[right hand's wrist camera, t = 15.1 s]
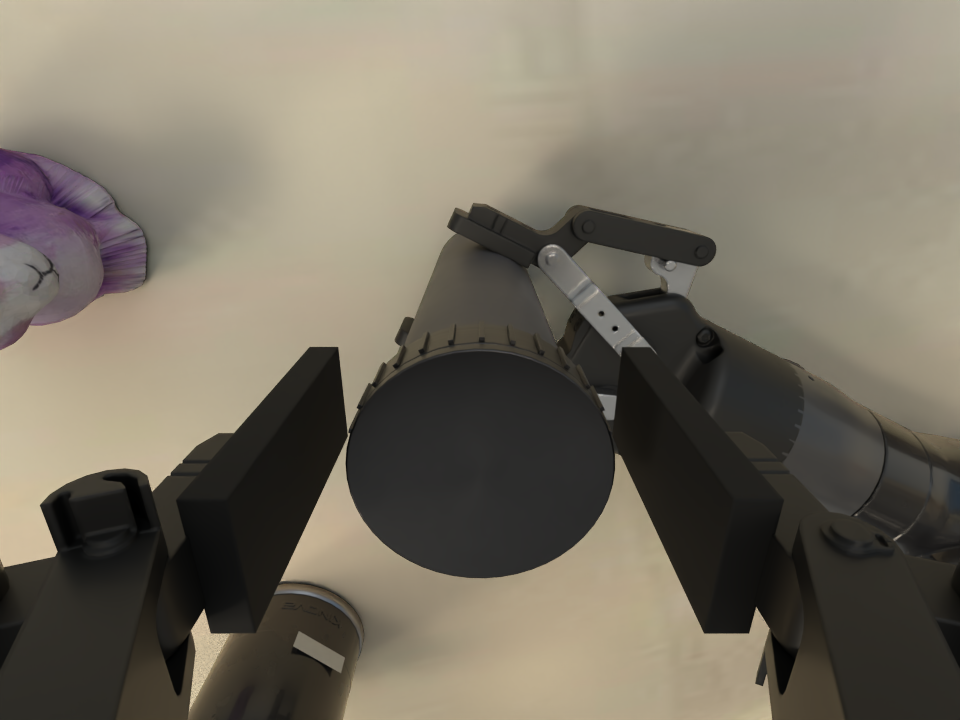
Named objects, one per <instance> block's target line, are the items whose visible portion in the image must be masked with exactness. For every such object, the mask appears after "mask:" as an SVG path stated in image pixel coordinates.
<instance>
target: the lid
mask: <svg viewBox="0 0 960 720" xmlns="http://www.w3.org/2000/svg"><path fill="white" fill-rule="evenodd" d="M357 408H358V411H357V413H356V416H355V418H354V420H353V422H352V424H351V426H350V428H349V433H350V436H349V441H348V445H347V452H346V474H347V481H348V485H349V489H350V493H351V496H352V499H353V501H354V504H355V506H356V508H357V510H358V512H359V513H360V515H361V517H362V519H363V520H364V522H365V523H366V524H367V526H368V527H369V528H370V529H371V531H372V532H373V533H374V534H375V535H376V536H377V537H378V538H379V539H380V540H381V541H382V542H383V543H384V544H385V545H387V546H388V547H389V548H390V549H392V550H393V551H394V552H395V553H397V554H399V555H400V556H402V557H404V558H405V559H407V560H409V561H411V562H413V563H415V564H417V565H419V566H421V567H424V568H427V569H430V570H432V571H435V572H439V573H443V574H447V575H452V576H458V577H467V578H493V577H503V576H508V575H514V574H518V573H522V572H525V571H528V570H532V569H534V568H537V567H539V566H542V565H544V564H546V563H548V562H550V561H552V560H554V559H555V558H557V557H559V556H561V555H562V554H564V553H565V552H566V551H568V550H569V549H571V548H572V547H573V546H574V545H575V544H577V543H578V542H579V541H580V540H581V539H582V538H583V537H584V536H585V535H586V534H587V533H588V531H589V530H590V529H591V528H592V527H593V526H594V524H595V523H596V521H597V520H598V518H599V517H600V515H601V513H602V512H603V509H604V507H605V505H606V503H607V501H608V498H609V495H610V492H611V488H612V485H613V479H614V472H615V453H614V447H613V441H612V437H611V435H613V433H612V430H611V428H610V426H609V424H608V421H607V419H606V417H605V415H604V413H603V411H605V409H604V407H603V405H602V403H601V401H600V399H599V396H598V394H597V392H596V390H595V388H594V386H593V385H592V386H590V384H589V382H588V380H587V378H586V376H585V374H584V372H583V369H582V367H581V366H580V365H579V364H578V365H577V366H575V365H574V364H573V362H572V361H571V360H570V359H569V358H568V357H567V356H566V355H565V353H564V350H563V348H561V347H560V346H559V347H558V348H556V347H554V346H553V345H551V344H549V343H548V342H546V341H544V340H543V339H541V337H540V334H538V333H536V332H535V334H534V335H532V334H530V333H527V332H525V331H522V330H518V329H514V328H513V325H512V324H508V326H507V327H506V326H499V325H493V324H484V321H479V324H470V325H460V326H456V324H455V323H454V324H451V325H450V328H446V329H442V330H439V331H436V332H434V333H431V334H429V332H428V331H427V332H425V333H423V336H422V338H420V339H418V340H416V341H414V342H413V343H411V344H410V345H408V346H407V347H405V346H404V345H402V346H401V347H400V348H399V351H398V353H397V354H396V355H395V356H394V357H393V358H392V359H391V360H390V361H389V362H388V363H387V364H385V363H384V362H383V363H382V364H381V366H380V368H379V370H378V372H377V374H376V377H375V379H374V381H373V383H372V384H370V383H369V384H368V386H367V388H366V390H365V392H364V394H363V396H362V398H361V400H360V402H359V404H358V406H357Z"/></svg>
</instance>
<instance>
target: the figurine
mask: <svg viewBox="0 0 960 720" xmlns="http://www.w3.org/2000/svg"><path fill="white" fill-rule="evenodd" d="M145 240H146V239H145V237H144V236H143V231H142V230H141V229H140V227H139V226H138V225H137V224H136V223H135V222H133V221H131V220H130V219H129V218H128V217H127V216H125V215H123V214H121V213H120V212H119V211H118V209H117V207H116V206H115V201H114V200H113V198H112V197H111V195H110V194H109V193H108V192H107V191H106V190H105V189H104V188H103V187H102V186H100V185H98V184H97V183H96V182H94V181H93V180H91V179H89V178H87V177H85V176H82V175H81V174H80V173H79V172H75V171H74V170H72V169H70V168H68V167H66V166H64V165H62V164H60V163H56V162H54V161H52V160H50V159H47V158H45V157H42V156H39V155H36V154H28V153H23V152H17V151H11V150H6V149H2V148H0V350H2V349H4V348H6V347H8V346H10V345H12V344H14V343H15V342H16V341H17V340H18V339H19V338H20V337H21V336H23V334H24V333H25V332H26V330H27V328H28V327H29V325H36V326H37V325H47V324H51V323H56V322H60V321H63V320H65V319H67V318H70V317H72V316H74V315H76V314H77V313H78V312H80V311H81V310H83V309H84V308H85V307H86V306H87V305H88V304H90V303H91V302H93V301H94V300H95V299H97V298H100V297H102V296H104V294H107V293H120V292H127V291H131V290H134V289H136V288H138V287H140V286H141V285H142V284H143V280H144V279H146V278H145V275H146V273H145V271H146V268H145V266H146V263H145V262H146V261H147V260H146V257H147V255H146V252H147V250H146V248H147V246H146V243H145Z"/></svg>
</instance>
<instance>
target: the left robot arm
mask: <svg viewBox="0 0 960 720" xmlns="http://www.w3.org/2000/svg"><path fill="white" fill-rule="evenodd" d="M447 227H448V228H449V229H451V230H452V231H454V232H456V233H458V234H460V235H462V236H464V237H466V238H468V239H470V240H472V241H474V242H476V243H478V244H480V245H482V246H484V247H486V248H488V249H490V250H492V251H494V252H496V253H498V254H500V255H502V256H504V257H506V258H509V259H510V260H512V261H514V262H516V263H518V264H520V265H522V266H524V267H526V268H528V267H529V265H530V264H533V265H535V266H537V267H539V268H540V269H541V270H542V271H543V272H544V273H545V274H546V275H547V276H548V278H549V279H550V280H551V281H552V282H553V283H554V284H555V285H556V286H557V287H558V288H559V289H560V290H561V292H562V293H563V294H564V295H565V296H566V297H567V298H568V299H569V300H570V302H571V303H572V304H573V305H574V306H575V309H574V311H573V313H572V314H571V316H570V318H569V320H568V322H567V326H566V330H565V333H564V336H563V338H562V339H561V340H560V341H559V342H558V343H557V344H556V345H557V347H559V346H560V347H561V348H563V350H564V353H565V355H566V356H567V357H568V358H569V359H570V360H571V361H572V362H573V364H574V365H575V366H577V365H578V364H579V365H580V366H581V367H582V369H583V372H584V374H585V376H586V378H587V380H588V382H589V384H590V386H592V385H593V386H594V388H595V390H596V392H597V394H598V396H599V399H600V401H601V403H602V405H603V407H604V409H605V411H603V413H604V415H605V417H606V419H607V421H608V424H609V426H610V428H611V430H612V433H613V424H614V415H615V406H616V397H617V387H618V378H619V369H620V360H621V351H622V347H651V348H652V350H653V351H654V352H655V353H656V354H657V355H658V356H659V358H660V359H661V360H662V361H663V362H664V363H665V364H666V366H667V367H668V368H669V369H670V370H671V371H672V372H673V374H674V375H675V376H676V377H677V378H678V379H679V380H680V382H681V383H682V384H683V385H684V386H685V387H686V388H687V390H688V391H689V392H690V393H691V394H692V395H693V396H694V398H695V399H696V400H697V401H698V402H699V403H700V404H701V406H702V407H703V408H704V409H705V410H706V411H707V412H708V413H709V415H710V416H711V417H712V418H713V419H714V420H715V421H716V423H717V424H718V425H719V426H720V427H721V428H722V429H723V431H724V432H743V433H745V434H747V435H748V436H750V437H752V438H754V439H755V440H757V441H759V442H761V443H762V444H764V445H765V446H766V447H767V448H768V449H769V450H770V451H771V452H772V453H773V454H774V455H775V456H776V457H777V459H778V462H781V463H782V464H783V465H784V466H785V467H786V468H787V469H788V470H789V471H790V474H793V475H794V476H795V477H796V478H797V479H798V480H799V481H800V482H801V483H802V484H803V485H804V486H805V487H806V488H807V489H808V490H809V491H810V492H811V493H812V494H813V495H814V497H815V498H816V499H817V500H818V501H819V502H820V503H821V504H822V505H823V506H824V507H825V508H826V509H827V510H828V511H829V512H835V513H841V514H845V515H848V516H851V517H855V518H858V519H860V520H863V521H865V522H867V523H869V524H871V525H873V526H875V527H877V528H879V529H880V530H881V531H883V532H884V533H885V534H887V535H888V536H889V537H891V538H892V539H893V540H894V541H895V542H896V543H897V545H898V546H899V547H900V549H901V550H902V551H903V553H904V554H906V555H910V556H915V557H920V558H924V559H929V560H934V561H939V562H944V563H949V564H954V565H958V562H959V560H960V440H959V439H953V438H948V437H943V436H938V435H932V434H926V433H918V432H913V431H911V430H909V429H907V428H905V427H903V426H901V425H899V424H897V423H895V422H893V421H892V420H890V419H888V418H886V417H884V416H882V415H880V414H878V413H876V412H874V411H872V410H870V409H868V408H866V407H864V406H862V405H860V404H858V403H857V402H855V401H853V400H852V399H850V398H849V397H848V396H846V395H845V394H844V393H842V392H841V391H840V390H838V389H837V388H835V387H834V386H832V385H831V384H830V383H828V382H826V381H824V380H823V379H821V378H819V377H817V376H815V375H813V374H811V373H809V372H807V371H805V369H804V368H802V367H801V366H800V365H799V364H797V363H795V362H792V361H790V360H787V359H782V358H780V357H778V356H776V355H774V354H772V353H770V352H768V351H766V350H764V349H762V348H760V347H758V346H756V345H755V344H753V343H751V342H749V341H747V340H745V339H743V338H741V337H739V336H737V335H735V334H733V333H731V332H729V331H727V330H725V329H723V328H721V327H719V326H717V325H716V324H714V323H712V322H710V321H708V320H706V319H704V318H702V317H700V316H699V315H698V313H697V312H696V310H695V308H694V306H693V305H692V303H691V302H690V301H689V300H688V299H687V296H688V293H689V290H690V288H691V285H692V282H693V280H694V277H695V274H696V272H697V269H698V266H704V265H706V264H708V263H710V262H711V261H712V259H713V258H714V256H715V254H716V245H715V243H714V241H713V240H712V239H710V238H708V237H706V236H703V235H700V234H697V233H695V232H692V231H689V230H687V229H683V228H679V227H674V226H670V225H665V224H661V223H657V222H652V221H648V220H643V219H639V218H635V217H630V216H626V215H621V214H617V213H613V212H608V211H604V210H599V209H595V208H591V207H586V206H582V205H576V206H573V207H571V208H570V209H569V210H568V211H567V212H566V214H565V216H564V217H563V218H562V219H561V220H560V221H559V222H558V223H557V224H556V225H555V226H553V227H552V228H550V229H548V230H545V231H539V230H535V229H533V228H531V227H529V226H527V225H525V224H523V223H521V222H519V221H517V220H516V219H514V218H512V217H510V216H508V215H506V214H504V213H502V212H500V211H498V210H496V209H494V208H492V207H490V206H488V205H486V204H477V203H473V205H472V207H471V209H470V211H469V213H467V212H465V211H463V210H461V209H459V208H455V210H454V212H453V214H452V216H451V219H450V221H449V223H448V225H447ZM588 242H589V243H594V244H598V245H603V246H607V247H612V248H616V249H621V250H625V251H630V252H634V253H639V254H643V255H645V258H644V262H645V265H646V267H647V268H648V269H649V270H651V271H652V272H654V273H655V274H657V275H659V276H660V278H661V288H655V289H649V290H643V291H637V292H631V293H625V294H619V295H612V296H606V295H605V294H604V293H603V292H602V291H601V290H600V289H599V288H598V287H597V286H596V284H595V283H594V282H593V281H592V280H591V279H590V278H589V277H588V276H587V274H586V273H585V272H584V271H583V270H582V269H581V268H580V267H579V266H578V264H577V263H576V262H575V261H574V260H573V259H572V258H571V257H572V256H573V255H575V254H576V253H577V252H578V251H579V250H580V249H581V248H582V247H583V246H585V245H586V244H587V243H588ZM413 321H414V318H410V317H405V318H404V320H403V323H402V325H401V327H400V329H399V331H398V334H397V336H396V338H395V342H396V343H397V344H398V345H400V346H402V345H404V344H405V341H406V339H407V336H408V334H409V331H410V329H411V326H412V324H413ZM611 437H612V435H611ZM612 441H613V447H614V453H616V454H619V455H621V454H620V452H619V450H618V448H617V445H616V443H615V441H614V439H613V437H612ZM363 640H364V631H363V626H362V623H361V621H360V619H359V617H358V615H357V613H356V612H355V611H354V610H353V608H352V607H351V606H350V605H349V604H348V603H347V602H345V601H344V600H343V599H341V598H340V597H338V596H337V595H335V594H333V593H331V592H329V591H327V590H324V589H322V588H319V587H315V586H311V585H305V584H280V585H278V587H277V589H276V591H275V593H274V595H273V598H272V600H271V602H270V604H269V606H268V608H267V610H266V613H265V615H264V617H263V619H262V621H261V623H260V625H259V628H258V630H257V632H256V633H230V634H229V636H228V638H227V640H226V642H225V644H224V646H223V648H222V650H221V652H220V653H219V655H218V657H217V659H216V661H215V663H214V665H213V667H212V669H211V670H210V672H209V674H208V676H207V678H206V680H205V682H204V684H203V686H202V688H201V690H200V692H199V694H198V695H197V697H196V699H195V701H194V703H193V705H192V707H191V709H190V711H189V713H188V720H343V717H344V713H345V709H346V704H347V700H348V696H349V693H350V689H351V684H352V680H353V676H354V672H355V667H356V663H357V660H358V658H359V656H360V653H361V649H362V645H363Z"/></svg>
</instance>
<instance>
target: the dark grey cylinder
mask: <svg viewBox="0 0 960 720" xmlns="http://www.w3.org/2000/svg"><path fill="white" fill-rule="evenodd" d="M479 321H484V324H493V325H499V326H506V327H507V326H508V324H512V325H513V328H514V329H518V330H522V331H525V332H527V333H530V334H532V335H534V334H535V332H536V333H538V334H540V337H541V339H543V340H544V341H546V342H548V343H549V344H551V345H553V346H554V347H556V348H558V347H557V345H556V342H555V340H554V337H553V334H552V332H551V329H550V327H549V324H548V322H547V319H546V317H545V314H544V312H543V309H542V307H541V304H540V302H539V299H538V297H537V294H536V292H535V289H534V287H533V284H532V282H531V279H530V277H529V274H528V272H527V269H526V267H524V266H522V265H520V264H518V263H516V262H514V261H512V260H510V259H509V258H506V257H504V256H502V255H500V254H498V253H496V252H494V251H492V250H490V249H488V248H486V247H484V246H482V245H480V244H478V243H476V242H474V241H472V240H470V239H468V238H466V237H464V236H462V235H460V234H458V233H457V234H456V235H454V236H453V237H452V238H451V239H450V240H449V241H448V242H447V243H446V244H445V246H444V247H443V249H442V251H441V253H440V256H439V258H438V261H437V263H436V266H435V268H434V271H433V273H432V276H431V278H430V281H429V283H428V286H427V288H426V291H425V294H424V296H423V299H422V301H421V304H420V306H419V309H418V311H417V314H416V316H415V319H414V321H413V324H412V326H411V329H410V331H409V334H408V336H407V339H406V341H405V344H404V346H405V347H407V346H408V345H410V344H411V343H413V342H414V341H416V340H418V339H420V338H422V336H423V333H425V332H427V331H428V332H429V334H431V333H434V332H436V331H439V330H442V329H446V328H450V325H451V324H454V323H455V324H456V326H460V325H470V324H479Z"/></svg>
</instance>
